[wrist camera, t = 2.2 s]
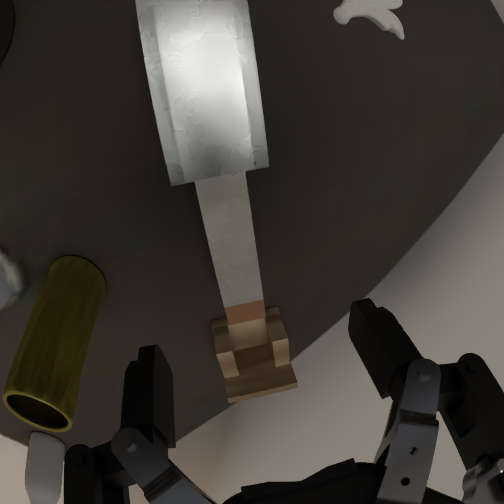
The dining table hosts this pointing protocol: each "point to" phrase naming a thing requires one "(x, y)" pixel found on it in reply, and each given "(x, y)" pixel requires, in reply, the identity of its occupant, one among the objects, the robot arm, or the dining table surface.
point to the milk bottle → (44, 468)
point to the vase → (55, 345)
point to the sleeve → (203, 86)
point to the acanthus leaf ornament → (371, 13)
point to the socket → (254, 356)
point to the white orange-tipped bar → (232, 245)
